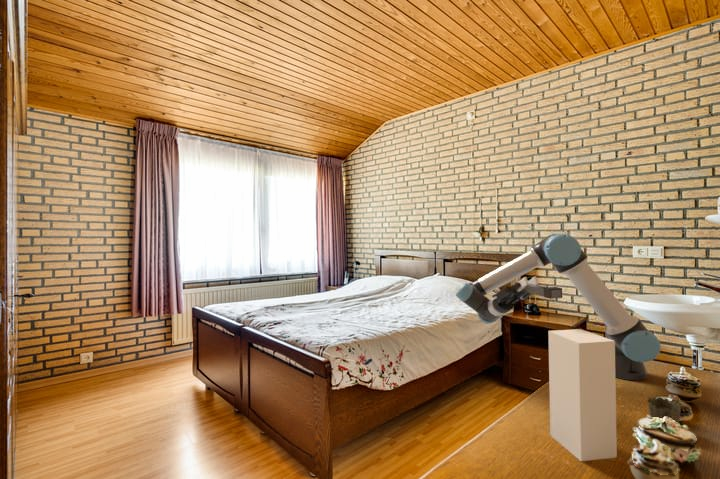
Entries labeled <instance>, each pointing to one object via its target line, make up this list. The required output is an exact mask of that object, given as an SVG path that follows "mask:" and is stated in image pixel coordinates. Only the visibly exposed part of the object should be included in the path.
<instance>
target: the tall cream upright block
mask: <svg viewBox="0 0 720 479" xmlns="http://www.w3.org/2000/svg"><path fill="white" fill-rule="evenodd" d="M547 335H548V374H549V376H548V377H549V378H548V380H549V386H548V387H549V389H548V390H549V429H550V430H549V435H550V437H552V438H553V439H554V440H555V441H556V442H557V443H558V444H560V446H562V447H563V448H565V450H567V451H569V453H570V454H572V455H573V456H574V457H575V458H576V459H577V460H578V461H580V462H587V461H597V460H598V461H599V460H606V459H613V458H617V456H618V455H617V454H618V451H617V449H618V448H617V447H618V445H617V444H618V443H617V400H616V399H617V397H616V396H617V394H616V393H617V391H616V390H617V389H616V384H617V383H616V377H615V341H614V340H611V339H608V338H606V336H605V337H604V336H601V335H599V334H596V333H593V332H590V331H587V330H584V329H582V328H574V329H559V330H557V329H556V330H548V334H547Z"/></svg>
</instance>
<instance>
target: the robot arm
mask: <svg viewBox="0 0 720 479" xmlns="http://www.w3.org/2000/svg"><path fill="white" fill-rule="evenodd" d="M588 259H589V258H588V255H587V254H586V253H585V252H584V250H583V249H582V247H581V244H580V242H579V241H578V240H577V239H576V238H575V237H574V236H572V235H570V234H566V233H552V234H549V235H547V236H546V237H544V238H542V240H540V241H539V242H538V243H536V244H534V245H532V246H531V247H530V248H529V251H527V252H525V253H523V254H521V255H519V256H518V257H515V258H514V259H512V260H511V261H508V262H507V263H505V264H503V265H501V266H500V267H498V268H495V269H494V270H492V271H490V272H488V273H487V274H485V275H483V276H482V277H480V278H478V279H476V280H475V281H472V282H469V283H468V282H464V283H463V284H462V285H461V286H460V288H459V289H458V290H457V291H456V293H455V297H456V298H458V299H459V301H460V302H463V303H464V304H465V305H467V307H469V308H471V309H472V310H473V311H475V312H476V313H477V316H478V318H479V320H480V322H482V323H483V324H486V325H491V324H493V323H495V322H497V321H499V319H500V318H503V316H505V315H506V314H507V313H508V312H510V311H511V310H513V309H514V308H515V305H516V303H517V302H519V301H520V300H523V301H527V300H528V298H529V297H530V296H532V295H533V294H531V293H527V292H523V291H521V290H522V289H523V288H525V287H526V286H527V285H529V284H528V283H530V284H535V285H540V284H539V280H538V278H537V276H535V275H534V276H533V277H532V278H531V279H529V280H528V278H527V276H523V275H525V274H528V273H529V272H531V271H533V270H534V269H536V268H539V267H543V268H544V267H546V266H547V265H549V264H552V266H553V267H554V268H555V270H556V271H557V272H558V274H561V275H565V276H566V277H567V278H568V279H569V280H570V282H571V284H573V286H574V287H575V288H576V289H577V291H578V292H579V293H580V294H581V296H582V297H583V298H584V299H585V301H586V302H587V303H588V304H589V306H591V308H592V310H593V311H594V312H595V313H596V315H597V316H598V317H599V318H600V319H601V321H602V322H603V323H604V327H605V328H604V329H605V331H604V333H605V338H608V339H611V340H614V341H615V378H617V379H623V380H627V381H644V380H646V379H648V370H647V368H646V365H645V363H648V362H651V361H653V360H655V359H656V358H657V357H658V356H659V354H661V353H660V352H661V349H662V348H661V347H662V345H661V342H660V340H659V338H658V337H657V336H656V335H655V334H653V332H650V331H649V330H648V328H647V326H645V325H644V323H643V322H642V321H641V319H640V318H639V317H637V316H635V315H631V314H630V313H628V311H627V310H626V308H625V307H624V306H623V305H622V303H620V300H618V299H617V298H616V296H614V294H613V293H612V291H611V290H610V289H609V288H608V287H607V286H606V284H605V283H604V281H602V279H601V278H600V277H599V275H598V274H597V273H596V272H595V271H594V270H593V268H592V267H591V265H590V264H589V263H588ZM522 276H523V278H521V279H520V280H518V283H516V284H515V283H514V284H513V285H511V286H509V285H507V284H508V283H510V282H512V281H514V280H516V279H518V278H519V277H522ZM505 285H507V286H505ZM503 286H505V287H503ZM501 287H503V288H502V289H500V290H499V291H498V292H497V293H495V294H493V295H491V296H492V298H491V299H489V298H488V297H487V295H488V294H490V293H491V292H493V291H496V290H497V289H499V288H501Z"/></svg>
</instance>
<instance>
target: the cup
mask: <svg viewBox="0 0 720 479" xmlns="http://www.w3.org/2000/svg"><path fill="white" fill-rule="evenodd" d="M647 403H648V404H647V405H648V411H649V415H650V418H651V417H659V418H663V417H664V416H668V417H670V418H672V419H673V420H675V421H676V422H678V424H679V422H680V418H681V411H682V410H681V409H682V406H681V404H680V403H677V401H673V402H670V401H669V399H668V398H665V399H664V398H662V397H660V396H659V397H657V398H656V397H655V396H653V397H648V398H647Z"/></svg>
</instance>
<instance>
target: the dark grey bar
mask: <svg viewBox="0 0 720 479" xmlns="http://www.w3.org/2000/svg"><path fill="white" fill-rule="evenodd" d="M518 282H519V281H518ZM518 282H516V281H515V282H514V285H515V284H516V283H518ZM528 284H529V285H527V286H526V287H525V288H523V289H522V290H521V291H523V292H527V293H531V294H532V295H535V296H539V297H543V298H545V299H550V300H552V299H562V298H563V288H562V287H558V286H545V285H544V286H543V285H540V284H538V285H535V284H530V283H528Z"/></svg>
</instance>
